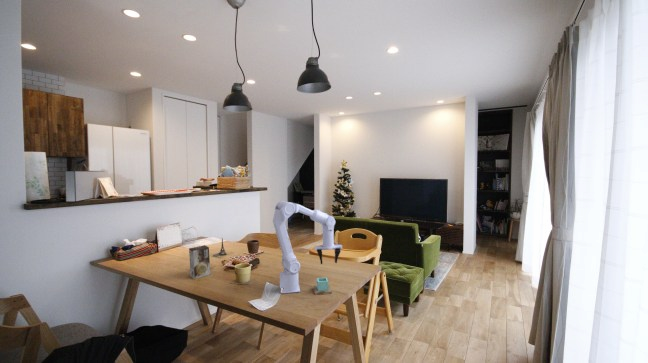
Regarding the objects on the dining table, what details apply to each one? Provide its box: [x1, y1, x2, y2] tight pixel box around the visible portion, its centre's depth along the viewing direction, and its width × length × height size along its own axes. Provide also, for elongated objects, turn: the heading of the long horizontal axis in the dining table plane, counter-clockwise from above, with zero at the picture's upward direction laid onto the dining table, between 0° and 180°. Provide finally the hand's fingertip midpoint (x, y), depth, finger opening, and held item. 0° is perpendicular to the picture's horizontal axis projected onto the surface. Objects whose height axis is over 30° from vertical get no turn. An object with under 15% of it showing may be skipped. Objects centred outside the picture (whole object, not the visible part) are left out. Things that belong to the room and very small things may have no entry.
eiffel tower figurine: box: [212, 237, 228, 259], centre depth 203 cm, size 15×10×13 cm
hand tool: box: [247, 257, 261, 266], centre depth 174 cm, size 19×4×5 cm, turn 156°
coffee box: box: [188, 244, 211, 280], centre depth 163 cm, size 9×6×16 cm
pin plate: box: [313, 284, 333, 296], centre depth 140 cm, size 8×8×4 cm
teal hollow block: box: [316, 277, 329, 291], centre depth 140 cm, size 5×5×4 cm
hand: (328, 263), depth 153 cm, fingers open, 7 cm apart
